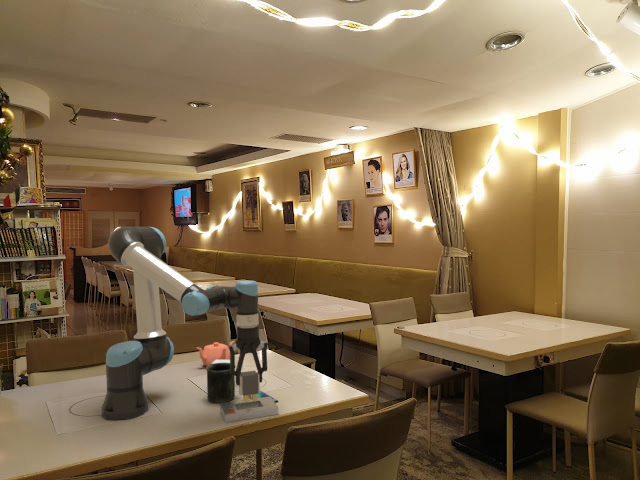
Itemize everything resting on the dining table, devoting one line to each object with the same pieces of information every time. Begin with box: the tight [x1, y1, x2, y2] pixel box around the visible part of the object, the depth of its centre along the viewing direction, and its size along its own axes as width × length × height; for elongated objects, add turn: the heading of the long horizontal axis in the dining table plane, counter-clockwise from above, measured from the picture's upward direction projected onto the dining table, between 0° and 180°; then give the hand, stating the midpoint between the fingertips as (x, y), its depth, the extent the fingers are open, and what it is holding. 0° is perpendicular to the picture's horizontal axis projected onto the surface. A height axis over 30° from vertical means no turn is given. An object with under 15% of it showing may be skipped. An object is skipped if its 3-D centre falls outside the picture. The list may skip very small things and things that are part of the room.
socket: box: [219, 396, 279, 423], centre depth 162 cm, size 18×11×3 cm, turn 111°
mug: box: [205, 363, 237, 404], centre depth 177 cm, size 11×15×12 cm
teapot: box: [196, 340, 236, 367], centre depth 218 cm, size 14×14×11 cm
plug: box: [240, 370, 259, 402], centre depth 161 cm, size 5×5×9 cm
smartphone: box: [251, 390, 279, 404], centre depth 176 cm, size 7×1×15 cm
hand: (249, 393), depth 162 cm, fingers closed on plug, 5 cm apart
